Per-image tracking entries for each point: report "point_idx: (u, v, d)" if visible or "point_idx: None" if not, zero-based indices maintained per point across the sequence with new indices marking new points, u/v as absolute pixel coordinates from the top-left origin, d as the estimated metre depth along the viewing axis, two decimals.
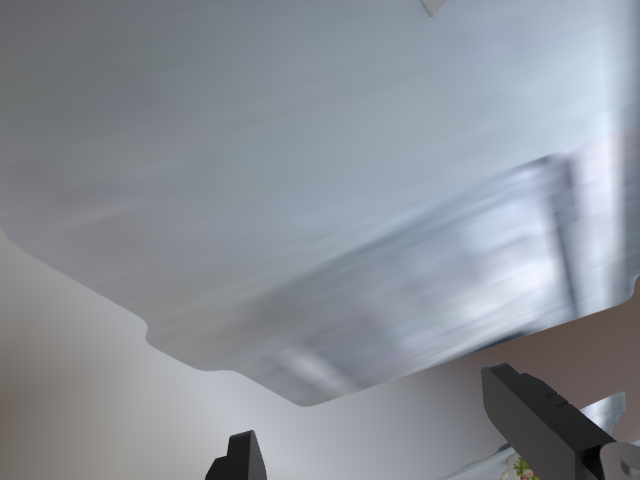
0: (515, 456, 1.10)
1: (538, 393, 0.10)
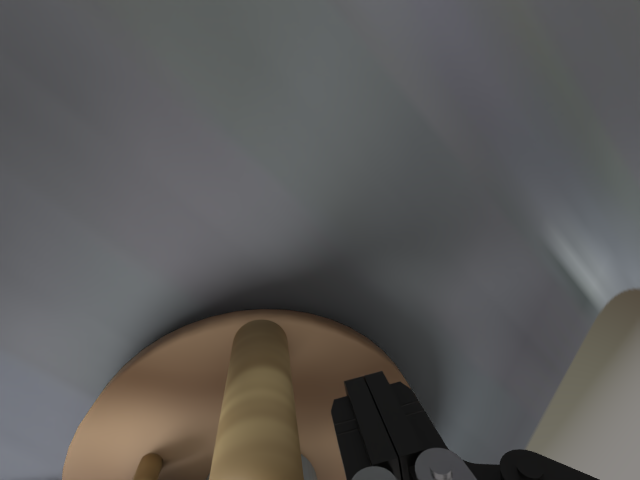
0: None
1: (395, 401, 0.10)
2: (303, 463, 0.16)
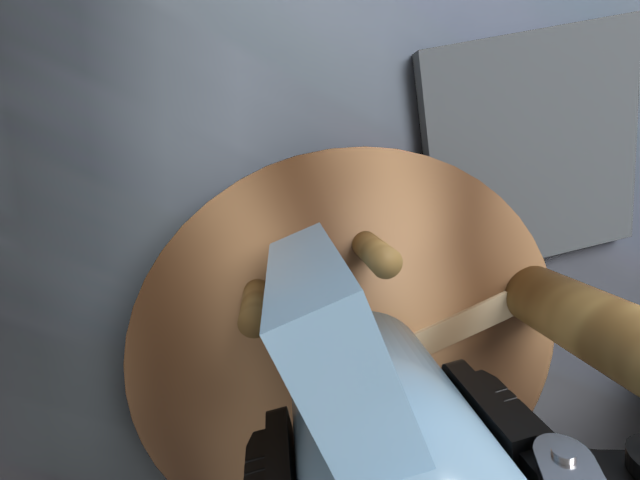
0: None
1: (488, 388, 0.10)
2: None
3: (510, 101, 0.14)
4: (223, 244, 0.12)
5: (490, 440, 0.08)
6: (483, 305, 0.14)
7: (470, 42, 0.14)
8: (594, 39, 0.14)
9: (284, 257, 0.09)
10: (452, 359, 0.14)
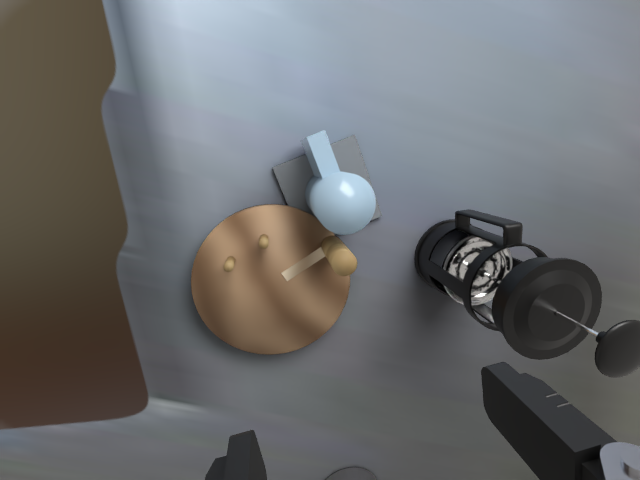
0: None
1: (538, 393, 0.10)
2: None
3: None
4: (216, 246, 0.37)
5: None
6: (313, 253, 0.38)
7: (290, 160, 0.38)
8: (338, 148, 0.38)
9: None
10: (308, 274, 0.39)
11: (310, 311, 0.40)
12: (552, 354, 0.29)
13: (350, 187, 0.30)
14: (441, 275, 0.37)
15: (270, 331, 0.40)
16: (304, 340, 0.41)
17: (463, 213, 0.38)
